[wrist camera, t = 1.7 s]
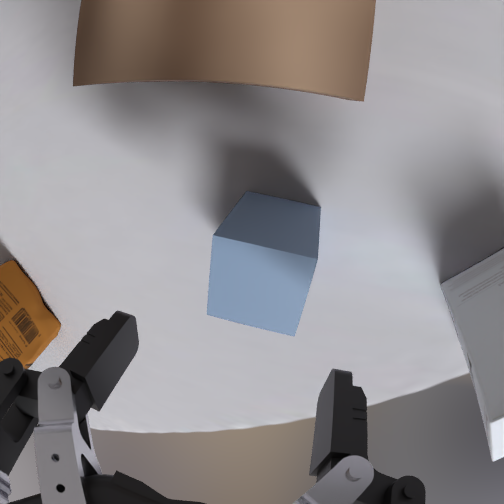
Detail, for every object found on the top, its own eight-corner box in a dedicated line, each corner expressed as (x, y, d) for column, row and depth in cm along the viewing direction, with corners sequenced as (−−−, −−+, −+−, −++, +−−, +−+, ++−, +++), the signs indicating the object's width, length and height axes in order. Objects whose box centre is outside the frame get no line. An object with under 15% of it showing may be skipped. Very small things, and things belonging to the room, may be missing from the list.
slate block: (320, 207, 20) (317, 259, 14) (304, 270, 23) (294, 336, 17) (246, 190, 21) (212, 235, 15) (237, 254, 23) (206, 314, 17)
